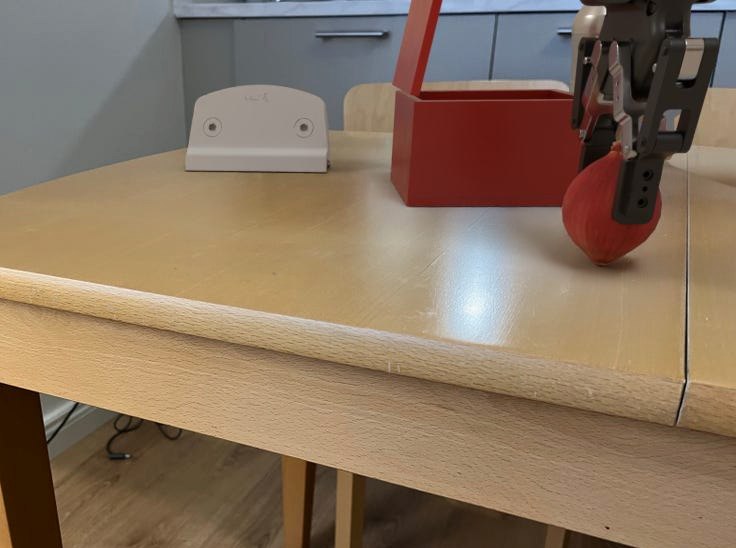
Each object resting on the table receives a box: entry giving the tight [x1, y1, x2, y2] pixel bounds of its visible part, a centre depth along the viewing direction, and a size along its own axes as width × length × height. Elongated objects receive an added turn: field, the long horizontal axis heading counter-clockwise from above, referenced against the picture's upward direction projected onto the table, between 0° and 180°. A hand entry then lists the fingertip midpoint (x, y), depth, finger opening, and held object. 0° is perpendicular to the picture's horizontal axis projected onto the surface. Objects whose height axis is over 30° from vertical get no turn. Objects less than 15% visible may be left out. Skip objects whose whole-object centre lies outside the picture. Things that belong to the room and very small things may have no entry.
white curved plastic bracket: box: [184, 84, 332, 174], centre depth 86 cm, size 17×5×10 cm, turn 82°
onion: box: [561, 140, 663, 266], centre depth 48 cm, size 6×6×8 cm
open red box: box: [389, 88, 584, 207], centre depth 71 cm, size 16×13×9 cm
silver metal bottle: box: [568, 4, 615, 145], centre depth 82 cm, size 6×7×20 cm
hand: (609, 210), depth 48 cm, fingers closed on onion, 6 cm apart
